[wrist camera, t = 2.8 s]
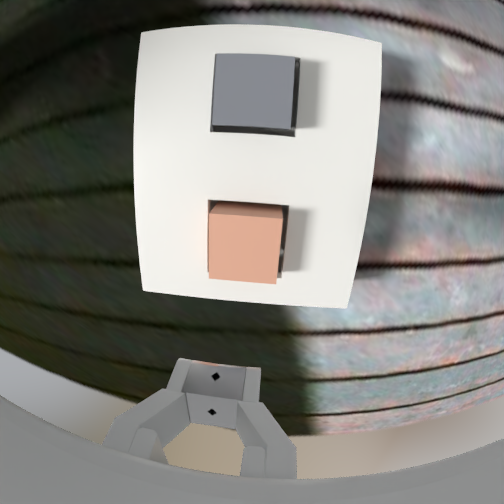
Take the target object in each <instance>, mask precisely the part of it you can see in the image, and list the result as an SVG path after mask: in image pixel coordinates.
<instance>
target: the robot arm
mask: <svg viewBox="0 0 504 504" xmlns="http://www.w3.org/2000/svg"><path fill="white" fill-rule="evenodd" d="M260 377H261V368H254V367H247V369H246V367H242V366H232V365H223V364H214V363H207V362H201V361H195V360H188V359H183V358H179V359H178V360H177V363H176V365H175V368H174V370H173V373H172V375H171V378H170V380H169V383H168V385H167V388H166V389H161V390H159V391H158V392H156V393H155V394H153V395H151V396H150V397H148V398H147V399H145V400H144V401H142V402H140V403H139V404H137V405H136V406H134V407H133V408H131V409H129V410H127V411H126V412H124V413H123V414H121V415H119V416H118V417H116V418H115V419H114V420H113V423H112V425H111V427H110V429H109V431H108V433H107V435H106V438H105V439H104V441H103V444H102V445H101V444H98V443H95V442H92V441H90V440H88V439H85V438H82V437H80V436H78V435H75V434H73V433H71V432H68V431H66V430H64V429H62V428H59V427H57V426H55V425H53V424H51V423H49V422H47V421H45V420H43V419H41V418H39V417H37V416H35V415H33V414H31V413H29V412H27V411H26V410H24V409H22V408H21V407H19V406H17V405H15V404H13V403H12V402H10V401H8V400H7V399H5V398H4V397H2V396H1V395H0V504H504V439H501V440H498V441H496V442H493V443H491V444H488V445H486V446H483V447H480V448H478V449H475V450H472V451H469V452H466V453H463V454H460V455H457V456H454V457H450V458H447V459H443V460H440V461H436V462H432V463H428V464H425V465H420V466H416V467H411V468H406V469H401V470H395V471H390V472H384V473H377V474H370V475H362V476H353V477H341V478H325V479H296V478H297V468H296V467H297V465H296V447H295V445H294V444H293V443H292V442H291V440H290V439H289V438H288V436H287V435H286V434H285V432H284V431H283V430H282V428H281V427H280V426H279V424H278V423H277V422H276V420H275V419H274V418H273V416H272V415H271V414H270V412H269V411H268V409H267V408H266V407H265V405H264V404H263V403H260V402H259V389H260ZM190 423H197V424H204V425H212V426H218V427H225V428H232V429H236V431H237V433H238V435H239V437H240V439H241V440H242V442H243V444H244V446H245V448H244V450H243V458H242V465H241V472H240V476H233V475H224V474H217V473H211V472H204V471H198V470H193V469H187V468H182V467H177V466H173V465H169V464H168V461H167V459H166V456H165V453H164V451H163V447H165V446H166V445H167V444H168V443H169V442H170V441H172V440H173V439H174V438H175V437H176V436H177V435H178V434H179V433H180V432H182V431H183V430H184V429H185V428H186V427H187V426H188V425H189V424H190Z"/></svg>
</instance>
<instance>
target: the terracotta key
mask: <svg viewBox="0 0 504 504" xmlns="http://www.w3.org/2000/svg"><path fill="white" fill-rule="evenodd" d="M282 223H283V215H282V207H281V205H279V204H267V203H254V202H240V201H224V200H219V201H218V202H217V204H216V205H215V206H214V208H213V209H212V210H211V212H210V213H209V279H219V280H230V281H242V282H253V283H266V284H276V281H277V272H278V263H279V253H280V243H281V233H282Z"/></svg>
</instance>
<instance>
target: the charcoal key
mask: <svg viewBox="0 0 504 504" xmlns="http://www.w3.org/2000/svg"><path fill="white" fill-rule="evenodd" d="M294 69H295V57H293V56H282V55H268V54H243V53H217V57H216V69H215V84H214V99H213V117H212V125H217V126H235V127H256V128H270V129H283V130H289V129H291V116H292V101H293V86H294Z"/></svg>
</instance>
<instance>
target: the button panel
mask: <svg viewBox="0 0 504 504" xmlns="http://www.w3.org/2000/svg"><path fill="white" fill-rule="evenodd" d="M217 53H243V54H268V55H282V56H293V57H295V69H294V86H293V101H292V116H291V129H289V130H283V129H270V128H256V127H235V126H217V125H212V117H213V99H214V84H215V69H216V57H217ZM381 71H382V43H379V42H376V41H372V40H367V39H363V38H359V37H354V36H349V35H344V34H339V33H333V32H327V31H320V30H313V29H305V28H296V27H286V26H272V25H247V24H226V25H201V26H188V27H177V28H169V29H161V30H154V31H147V32H141V39H140V47H139V56H138V66H137V78H136V92H135V111H134V192H135V212H136V227H137V239H138V250H139V260H140V269H141V278H142V286H143V291H150V292H158V293H166V294H175V295H183V296H192V297H201V298H211V299H221V300H231V301H242V302H254V303H266V304H279V305H293V306H309V307H327V308H347V305H348V301H349V297H350V293H351V289H352V285H353V281H354V276H355V272H356V267H357V263H358V258H359V253H360V249H361V244H362V238H363V233H364V228H365V222H366V217H367V211H368V205H369V199H370V192H371V185H372V178H373V171H374V163H375V154H376V145H377V135H378V124H379V112H380V96H381ZM219 200H224V201H240V202H254V203H267V204H279V205H281V207H282V215H283V223H282V233H281V243H280V253H279V263H278V272H277V281H276V284H266V283H253V282H242V281H230V280H219V279H209V213H210V212H211V210H212V209H213V208H214V206H215V205H216V204H217V202H218V201H219Z"/></svg>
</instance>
